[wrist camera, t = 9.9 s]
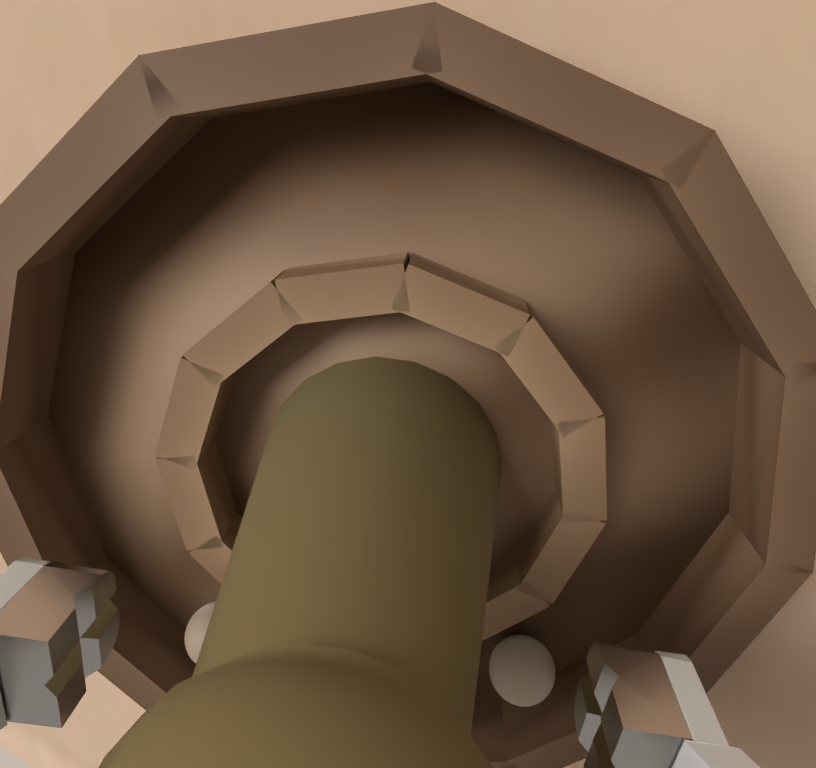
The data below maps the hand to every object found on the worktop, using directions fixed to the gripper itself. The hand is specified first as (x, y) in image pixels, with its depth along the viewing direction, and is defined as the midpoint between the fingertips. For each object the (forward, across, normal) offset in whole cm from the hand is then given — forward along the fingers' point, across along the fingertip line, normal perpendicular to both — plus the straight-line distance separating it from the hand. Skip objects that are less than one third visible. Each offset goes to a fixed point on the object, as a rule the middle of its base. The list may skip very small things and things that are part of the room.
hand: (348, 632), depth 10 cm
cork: (+6, 0, 0) cm, 6 cm away
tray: (+7, 0, 0) cm, 7 cm away
